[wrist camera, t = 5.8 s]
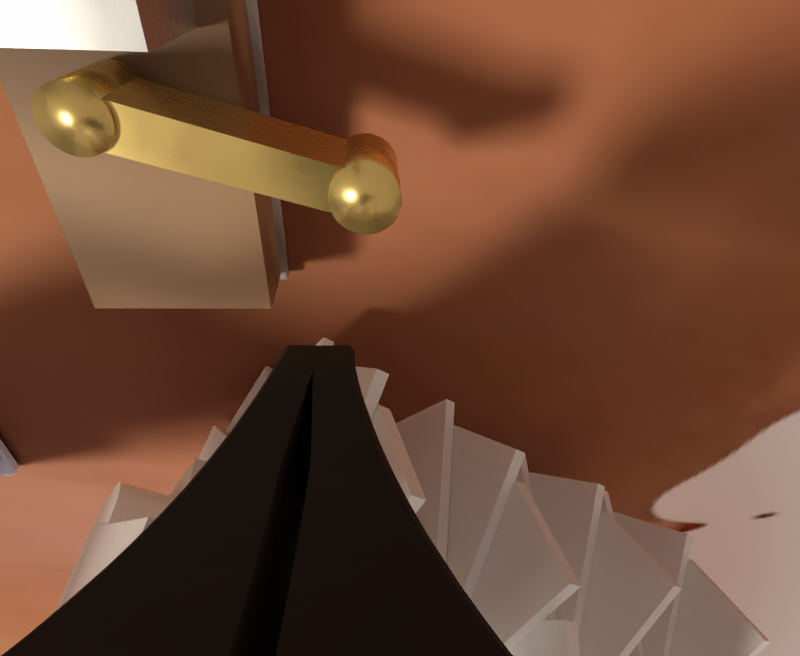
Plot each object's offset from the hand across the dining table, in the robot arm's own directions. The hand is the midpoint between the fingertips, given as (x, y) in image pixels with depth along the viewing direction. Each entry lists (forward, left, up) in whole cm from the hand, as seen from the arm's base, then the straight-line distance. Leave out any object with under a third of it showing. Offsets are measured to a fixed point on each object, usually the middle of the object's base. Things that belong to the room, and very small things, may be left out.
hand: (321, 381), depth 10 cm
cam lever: (+3, +2, -7) cm, 8 cm away
